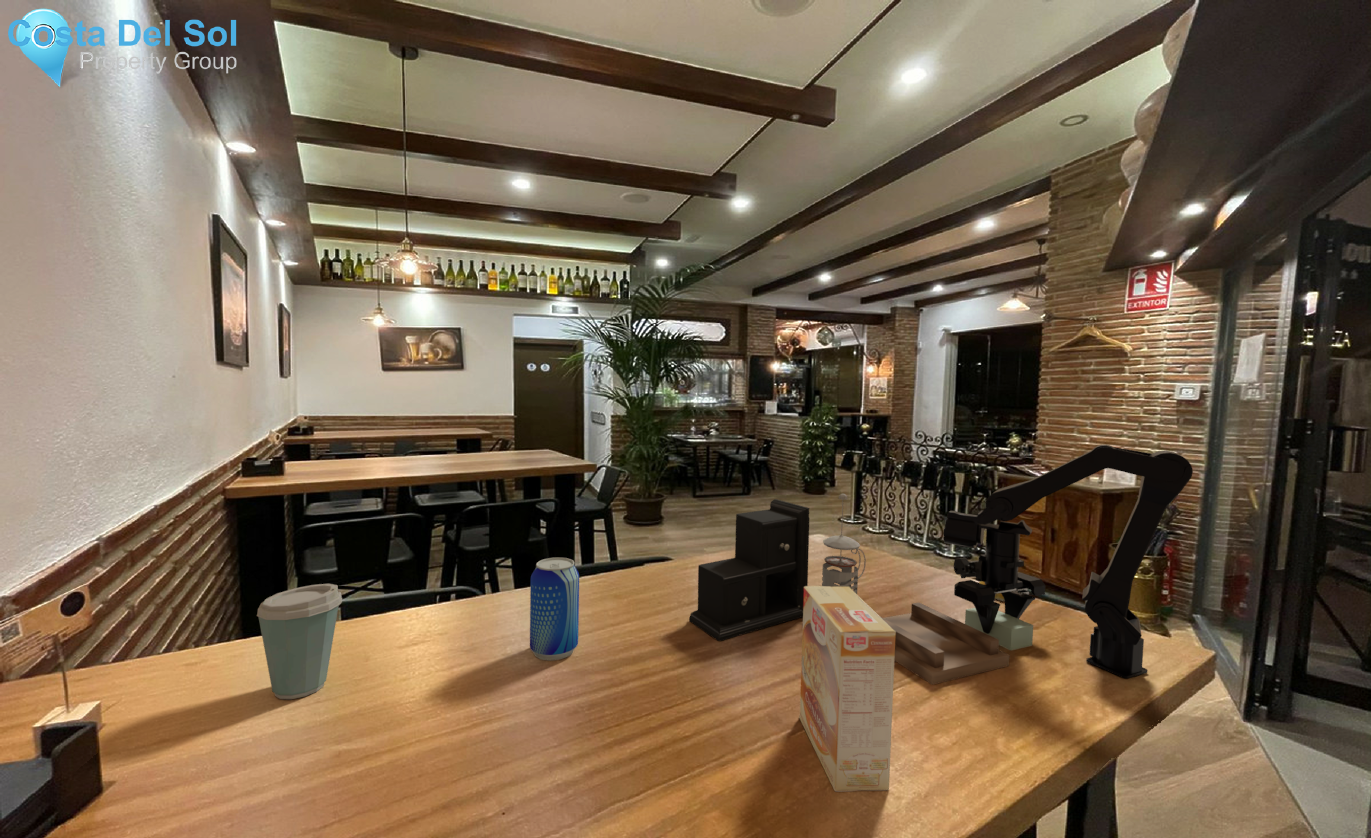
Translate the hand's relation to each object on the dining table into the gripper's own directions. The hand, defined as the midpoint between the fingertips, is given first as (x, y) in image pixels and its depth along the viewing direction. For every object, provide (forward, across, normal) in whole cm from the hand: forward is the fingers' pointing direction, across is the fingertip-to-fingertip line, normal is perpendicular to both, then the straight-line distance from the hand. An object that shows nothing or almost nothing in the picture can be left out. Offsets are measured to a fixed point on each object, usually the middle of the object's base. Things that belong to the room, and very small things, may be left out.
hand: (997, 630), depth 106 cm
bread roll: (+2, -21, -16) cm, 27 cm away
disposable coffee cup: (+2, +121, -24) cm, 123 cm away
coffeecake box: (+2, +52, +17) cm, 55 cm away
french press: (+2, +18, -25) cm, 31 cm away
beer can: (+2, +83, -23) cm, 86 cm away
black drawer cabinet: (+2, +43, -24) cm, 49 cm away
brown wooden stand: (+1, +18, -1) cm, 18 cm away
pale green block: (+1, 0, 0) cm, 1 cm away
